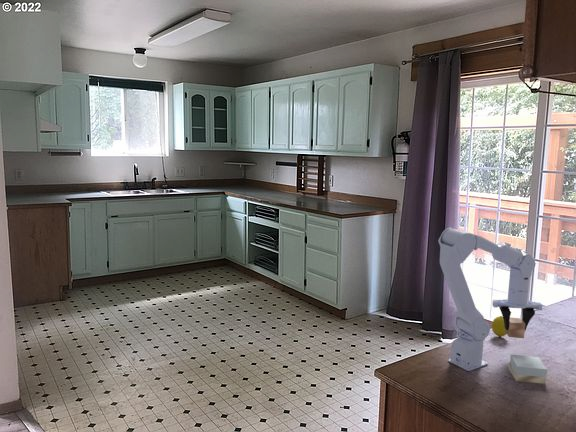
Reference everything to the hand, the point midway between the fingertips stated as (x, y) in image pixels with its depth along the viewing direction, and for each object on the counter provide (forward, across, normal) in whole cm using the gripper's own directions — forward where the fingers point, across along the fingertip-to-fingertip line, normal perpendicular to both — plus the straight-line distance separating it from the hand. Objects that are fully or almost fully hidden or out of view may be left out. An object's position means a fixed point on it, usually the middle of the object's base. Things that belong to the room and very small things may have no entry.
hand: (514, 329), depth 152 cm
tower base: (+10, 0, -13) cm, 16 cm away
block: (+2, 0, 0) cm, 2 cm away
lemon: (+10, 0, +16) cm, 18 cm away
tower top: (+7, 0, -13) cm, 15 cm away
